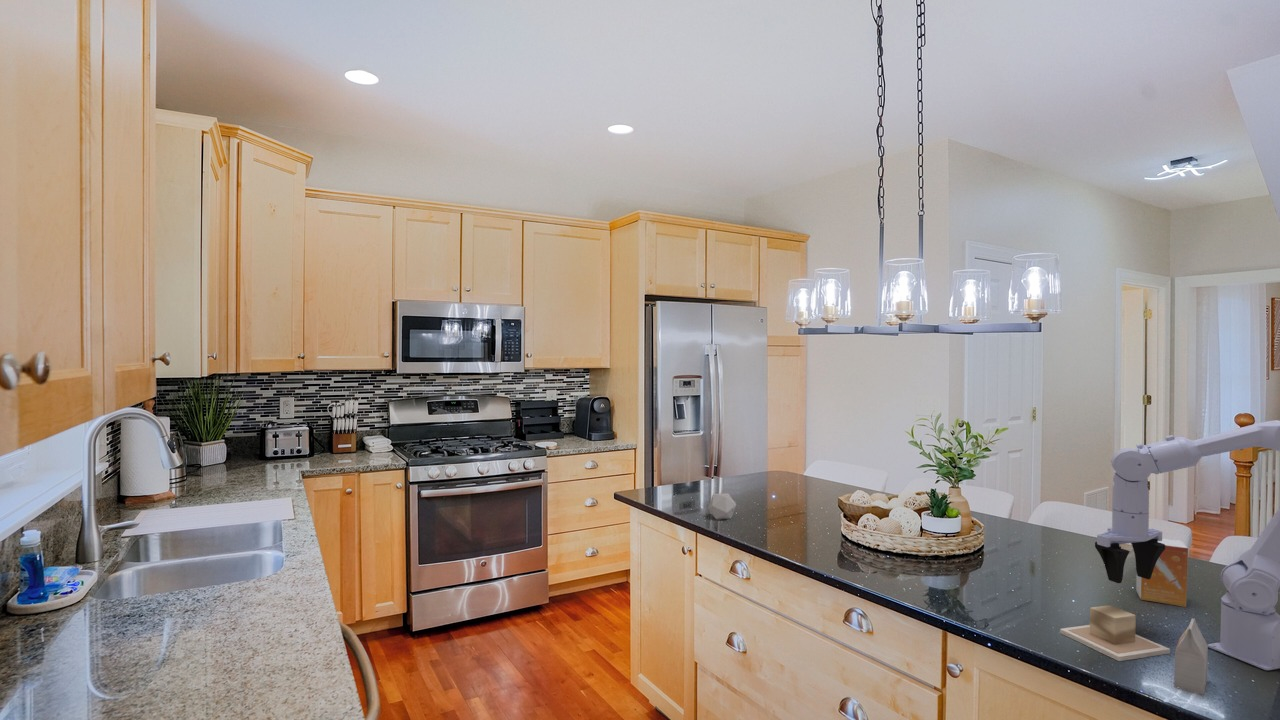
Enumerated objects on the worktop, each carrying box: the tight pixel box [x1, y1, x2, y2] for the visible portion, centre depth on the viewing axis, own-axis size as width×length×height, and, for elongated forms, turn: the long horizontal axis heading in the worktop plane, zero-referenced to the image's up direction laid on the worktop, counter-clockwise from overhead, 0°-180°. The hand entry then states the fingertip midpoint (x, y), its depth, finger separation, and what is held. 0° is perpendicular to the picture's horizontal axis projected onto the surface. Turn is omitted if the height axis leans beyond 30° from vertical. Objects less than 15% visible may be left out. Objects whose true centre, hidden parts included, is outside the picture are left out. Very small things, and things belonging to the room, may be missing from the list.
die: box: [707, 493, 737, 521], centre depth 213 cm, size 8×9×10 cm
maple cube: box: [1089, 604, 1137, 645], centre depth 124 cm, size 5×5×5 cm
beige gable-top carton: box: [1173, 617, 1209, 696], centre depth 109 cm, size 4×7×10 cm, turn 136°
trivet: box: [1059, 624, 1171, 662], centre depth 124 cm, size 12×12×1 cm
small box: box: [1135, 537, 1189, 608], centre depth 145 cm, size 8×6×13 cm
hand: (1129, 579), depth 128 cm, fingers open, 7 cm apart
